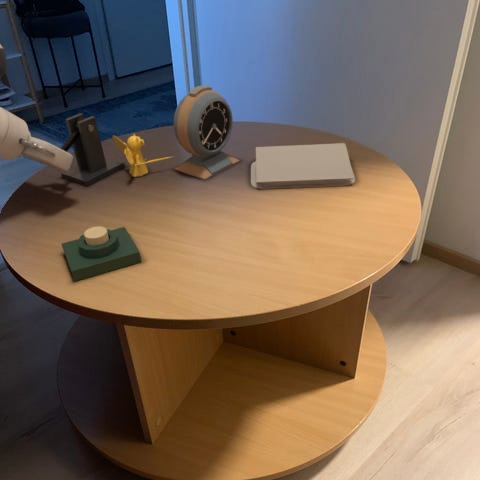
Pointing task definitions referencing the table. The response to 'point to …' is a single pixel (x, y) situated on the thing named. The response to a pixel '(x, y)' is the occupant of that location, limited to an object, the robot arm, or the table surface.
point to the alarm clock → (204, 132)
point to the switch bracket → (89, 154)
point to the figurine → (135, 154)
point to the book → (301, 166)
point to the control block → (101, 254)
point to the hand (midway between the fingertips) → (60, 163)
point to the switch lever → (72, 136)
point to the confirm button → (96, 236)
